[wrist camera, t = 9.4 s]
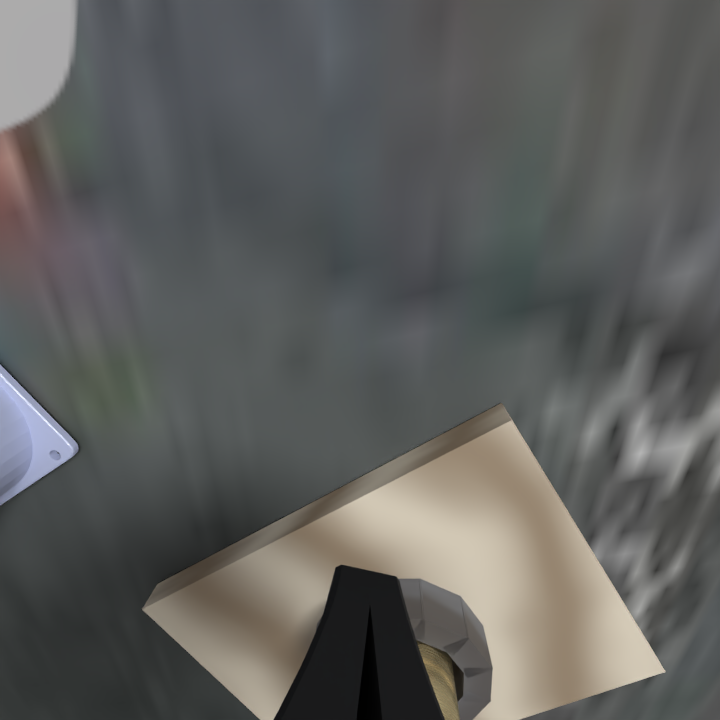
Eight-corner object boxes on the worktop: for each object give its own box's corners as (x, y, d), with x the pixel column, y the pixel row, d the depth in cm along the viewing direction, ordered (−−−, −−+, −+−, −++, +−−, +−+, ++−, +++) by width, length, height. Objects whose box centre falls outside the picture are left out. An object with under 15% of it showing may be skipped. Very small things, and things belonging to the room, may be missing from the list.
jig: (330, 751, 27) (322, 828, 23) (157, 583, 22) (118, 648, 19) (647, 641, 22) (693, 719, 18) (501, 402, 18) (527, 448, 14)
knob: (389, 676, 22) (389, 842, 16) (336, 616, 20) (317, 772, 15) (473, 644, 21) (506, 810, 15) (423, 578, 19) (437, 733, 14)
